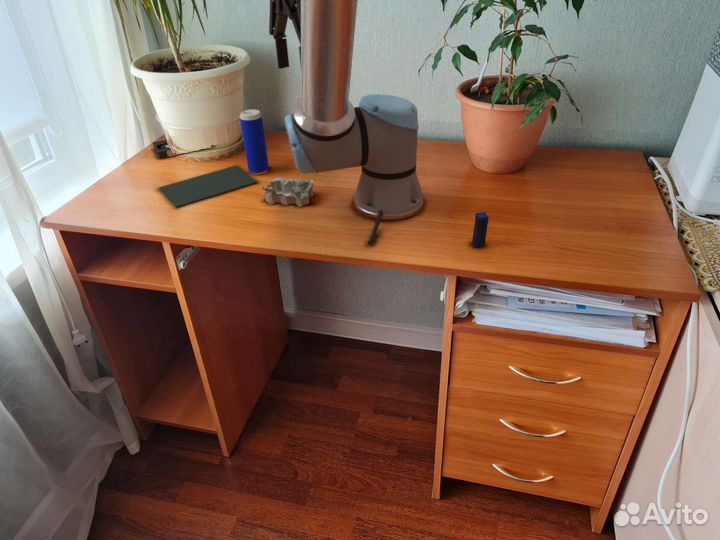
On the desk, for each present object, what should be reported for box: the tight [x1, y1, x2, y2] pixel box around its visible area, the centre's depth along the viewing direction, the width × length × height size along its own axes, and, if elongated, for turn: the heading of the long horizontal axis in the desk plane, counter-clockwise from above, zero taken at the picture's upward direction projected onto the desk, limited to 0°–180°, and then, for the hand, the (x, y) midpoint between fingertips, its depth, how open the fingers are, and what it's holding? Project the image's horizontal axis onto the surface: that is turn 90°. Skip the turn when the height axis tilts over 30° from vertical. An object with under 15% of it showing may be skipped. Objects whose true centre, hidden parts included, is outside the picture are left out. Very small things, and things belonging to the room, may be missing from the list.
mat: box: [159, 165, 258, 209], centre depth 126 cm, size 20×12×1 cm, turn 126°
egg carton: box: [261, 176, 314, 207], centre depth 119 cm, size 11×8×4 cm
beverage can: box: [239, 108, 270, 176], centre depth 128 cm, size 5×5×15 cm
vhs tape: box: [152, 139, 179, 160], centre depth 145 cm, size 14×8×2 cm, turn 117°
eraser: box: [472, 211, 490, 248], centre depth 100 cm, size 2×2×7 cm
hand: (295, 72), depth 126 cm, fingers open, 11 cm apart
